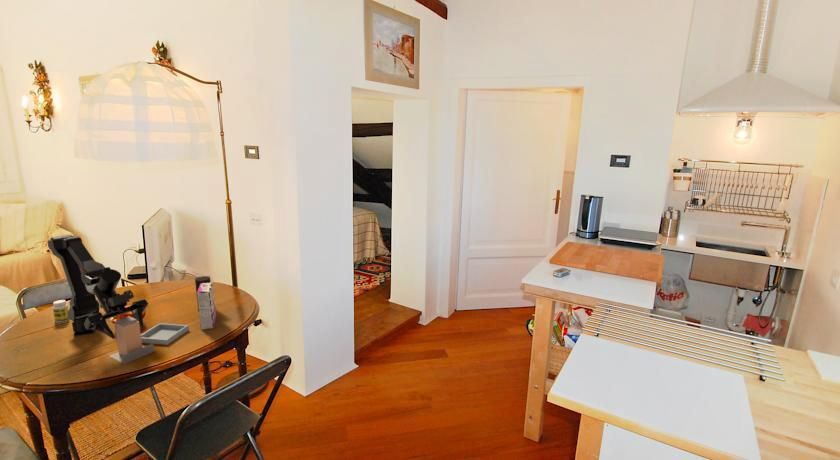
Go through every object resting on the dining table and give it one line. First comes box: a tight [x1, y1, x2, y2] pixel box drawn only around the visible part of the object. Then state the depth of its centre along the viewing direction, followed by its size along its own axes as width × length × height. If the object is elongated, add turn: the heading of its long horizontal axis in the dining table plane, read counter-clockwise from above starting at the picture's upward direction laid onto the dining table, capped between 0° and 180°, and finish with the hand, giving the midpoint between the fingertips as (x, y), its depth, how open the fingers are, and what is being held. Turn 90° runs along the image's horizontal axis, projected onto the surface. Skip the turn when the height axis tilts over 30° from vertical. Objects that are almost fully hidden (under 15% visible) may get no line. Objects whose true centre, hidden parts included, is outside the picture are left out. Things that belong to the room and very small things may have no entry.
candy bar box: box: [196, 281, 217, 331], centre depth 170 cm, size 11×5×16 cm, turn 21°
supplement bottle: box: [52, 299, 70, 323], centre depth 171 cm, size 5×5×8 cm
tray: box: [141, 322, 190, 346], centre depth 160 cm, size 12×12×2 cm
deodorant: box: [194, 275, 211, 312], centre depth 184 cm, size 6×6×15 cm
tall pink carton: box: [114, 316, 143, 356], centre depth 146 cm, size 6×5×13 cm
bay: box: [109, 344, 155, 365], centre depth 147 cm, size 10×10×3 cm
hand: (128, 332), depth 145 cm, fingers open, 9 cm apart
